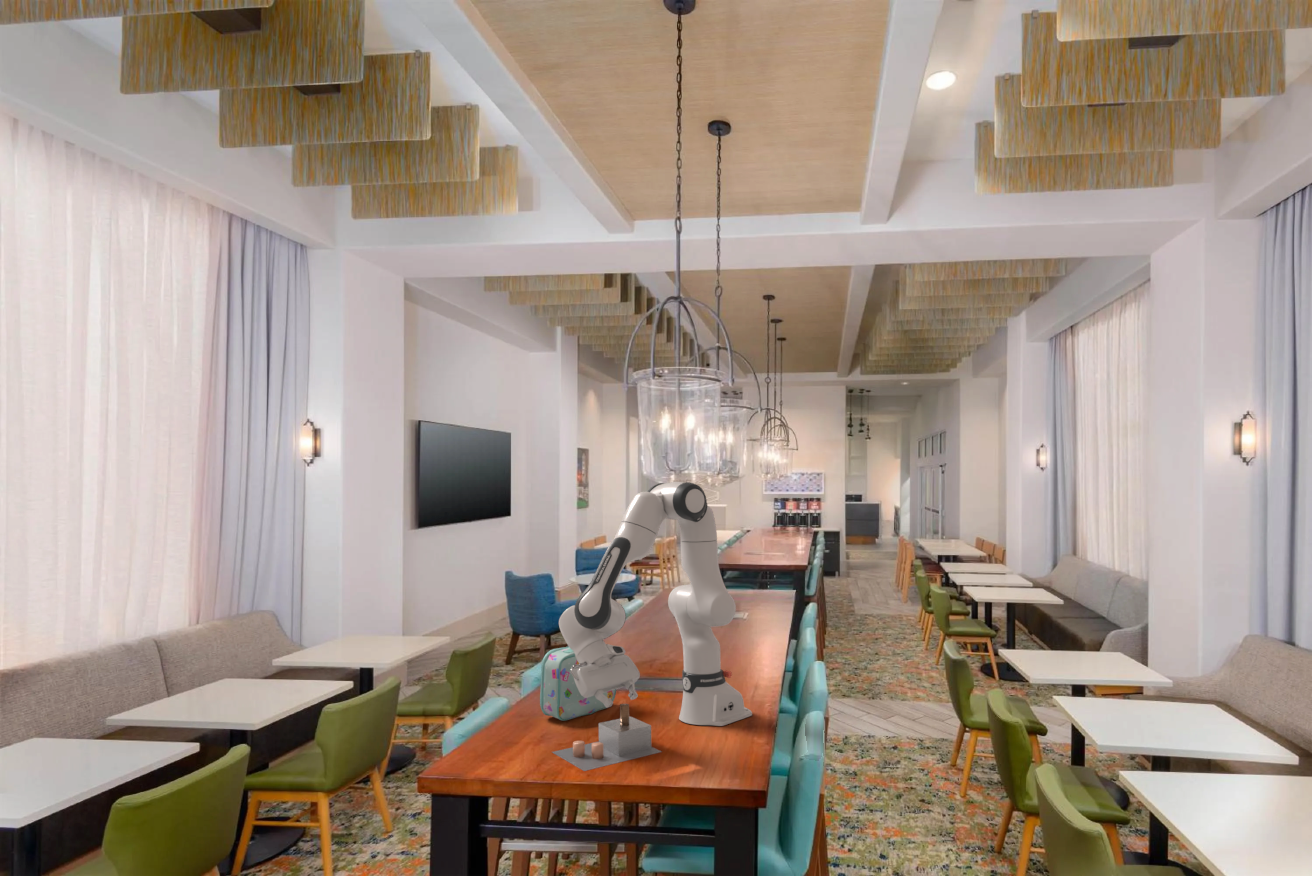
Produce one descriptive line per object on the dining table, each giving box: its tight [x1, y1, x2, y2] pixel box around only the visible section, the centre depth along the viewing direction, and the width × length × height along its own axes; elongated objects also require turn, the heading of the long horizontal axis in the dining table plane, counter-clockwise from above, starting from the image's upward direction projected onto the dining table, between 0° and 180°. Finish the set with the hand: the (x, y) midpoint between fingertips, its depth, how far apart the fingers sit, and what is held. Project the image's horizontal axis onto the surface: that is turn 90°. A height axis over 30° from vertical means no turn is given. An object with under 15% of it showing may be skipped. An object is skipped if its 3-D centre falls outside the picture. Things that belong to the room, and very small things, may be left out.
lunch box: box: [539, 645, 617, 721], centre depth 248 cm, size 27×10×21 cm, turn 141°
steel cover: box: [598, 703, 652, 757], centre depth 211 cm, size 10×10×11 cm
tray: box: [551, 740, 663, 772], centre depth 207 cm, size 23×17×4 cm
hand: (622, 702), depth 212 cm, fingers open, 8 cm apart
